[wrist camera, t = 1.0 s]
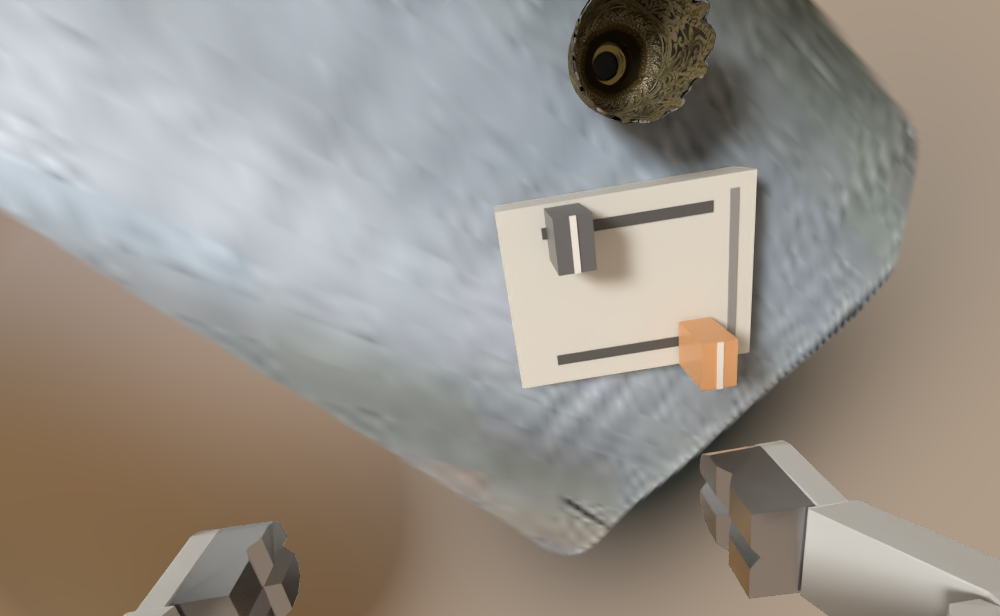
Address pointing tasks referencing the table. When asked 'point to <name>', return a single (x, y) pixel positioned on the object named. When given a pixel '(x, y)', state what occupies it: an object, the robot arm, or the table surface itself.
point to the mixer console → (631, 274)
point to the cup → (640, 55)
